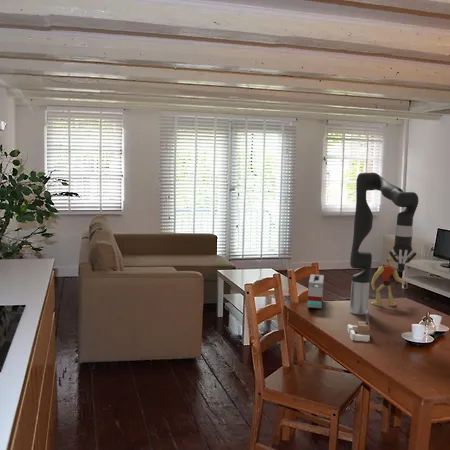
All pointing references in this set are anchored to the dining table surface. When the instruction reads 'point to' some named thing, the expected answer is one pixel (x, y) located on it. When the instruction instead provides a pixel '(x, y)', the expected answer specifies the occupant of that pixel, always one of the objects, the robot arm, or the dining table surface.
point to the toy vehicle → (315, 291)
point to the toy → (386, 282)
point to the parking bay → (356, 336)
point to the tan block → (364, 326)
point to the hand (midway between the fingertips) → (400, 271)
